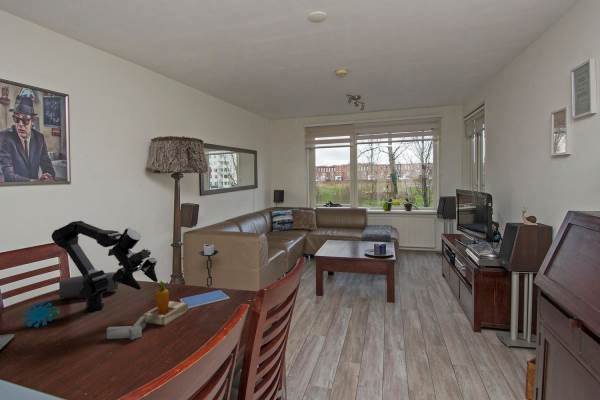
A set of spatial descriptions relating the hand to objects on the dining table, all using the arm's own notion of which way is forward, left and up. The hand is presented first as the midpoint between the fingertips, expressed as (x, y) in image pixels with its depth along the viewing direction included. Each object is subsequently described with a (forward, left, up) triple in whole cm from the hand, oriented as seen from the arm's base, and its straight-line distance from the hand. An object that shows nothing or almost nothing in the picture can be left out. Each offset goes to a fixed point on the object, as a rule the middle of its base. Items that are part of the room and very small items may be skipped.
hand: (148, 285), depth 128 cm
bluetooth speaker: (-38, -25, -13) cm, 47 cm away
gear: (-11, -37, -13) cm, 41 cm away
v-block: (+14, -6, -13) cm, 20 cm away
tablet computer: (-9, +23, -13) cm, 28 cm away
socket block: (+3, +6, -13) cm, 14 cm away
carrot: (+4, +5, -13) cm, 14 cm away
